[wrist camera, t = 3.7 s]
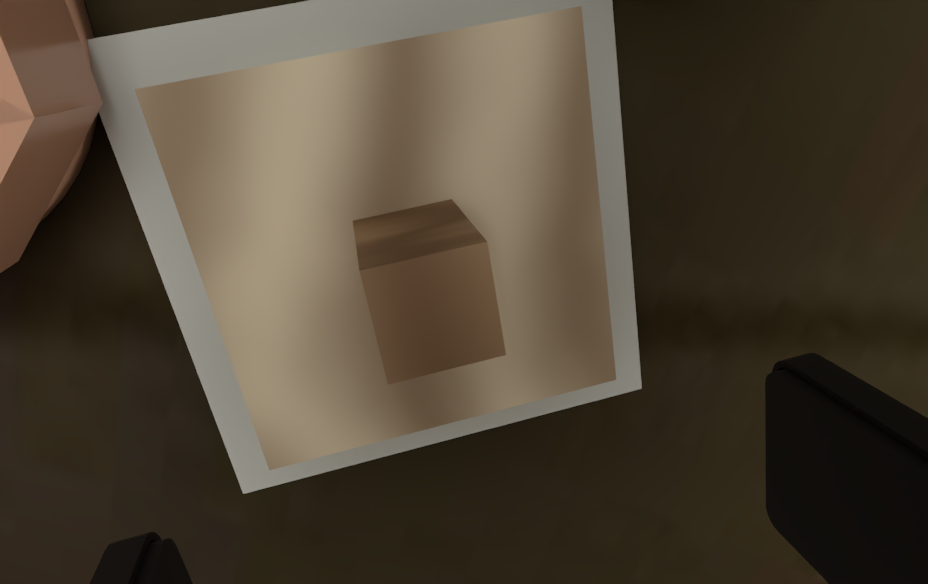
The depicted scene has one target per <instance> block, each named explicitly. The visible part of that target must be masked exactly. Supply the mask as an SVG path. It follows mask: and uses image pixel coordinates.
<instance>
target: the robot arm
mask: <svg viewBox="0 0 928 584" xmlns="http://www.w3.org/2000/svg"><path fill="white" fill-rule="evenodd" d="M765 393H766V509H767V513H768V516H769V518H770V520H771V522H772V524H773V526H774V527H775V528H776V529H777V531H778V532H779V533H780V534H781V535H782V536H783V537H784V538H785V539H786V540H787V541H788V542H789V543H790V544H791V545H792V546H793V547H794V548H795V549H796V550H797V551H798V552H799V553H800V554H801V555H802V556H803V557H804V558H805V559H806V560H807V561H808V562H809V564H810V565H811V566H812V567H813V568H814V569H815V570H816V571H817V572H818V573H819V574H820V575H821V576H822V577H823V578H824V579H825V580H826V581H827V582H828V583H829V584H928V418H926V417H925V416H923V415H921V414H920V413H918V412H916V411H914V410H913V409H911V408H909V407H907V406H906V405H904V404H902V403H901V402H899V401H897V400H895V399H894V398H892V397H890V396H889V395H887V394H885V393H883V392H882V391H880V390H878V389H877V388H875V387H873V386H871V385H870V384H868V383H866V382H865V381H863V380H861V379H859V378H858V377H856V376H854V375H853V374H851V373H849V372H847V371H846V370H844V369H842V368H840V367H839V366H837V365H835V364H834V363H832V362H830V361H828V360H827V359H825V358H823V357H822V356H820V355H817V354H815V353H808V354H804V355H800V356H797V357H793V358H789V359H786V360H782V361H779V362H777V363H776V364H775V365H774V367H773V371H772V373H770V374H768V376H767V378H766V383H765ZM90 584H193V583H192V581H191V579H190V576H189V574H188V572H187V569H186V567H185V565H184V563H183V560H182V558H181V556H180V553H179V551H178V549H177V546H176V544H175V543H174V541H173V540H172V539H170V538H167V539H164V540H161V538H160V536H159V535H157V534H156V533H154V532H150V533H146V534H143V535H139V536H135V537H132V538H128V539H124V540H121V541H117V542H113V543H111V544H110V545H108V547H107V548H106V550H105V552H104V554H103V556H102V558H101V561H100V563H99V565H98V567H97V569H96V571H95V574H94V576H93V578H92V580H91V582H90Z"/></svg>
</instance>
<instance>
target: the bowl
mask: <svg viewBox="0 0 928 584" xmlns="http://www.w3.org/2000/svg"><path fill="white" fill-rule="evenodd" d="M93 38H94V34H93V30H92V27H91V23H90V20H89V17H88V13H87V10H86V7H85V3H84V1H83V0H0V273H1V272H2V271H4V270H5V269H7V268H8V267H10V266H11V265H13V264H14V263H16V262H17V261H19V259H20V257H21V256H22V254H23V252H24V250H25V248H26V246H27V244H28V242H29V241H30V239H31V237H32V235H33V233H34V231H35V229H36V228H37V226H38V224H39V222H40V221H42V220H43V219H44V218H45V217H47V216H48V215H49V213H50V212H51V211H52V210H53V209H54V208H55V207H56V206H57V205H58V203H59V202H60V201H61V200H62V199H63V198H64V197H65V195H66V194H67V192H68V191H69V189H70V187H71V186H72V184H73V183H74V181H75V180H76V178H77V177H78V175H79V173H80V171H81V169H82V166H83V164H84V162H85V159H86V157H87V155H88V153H89V150H90V147H91V143H92V139H93V136H94V132H95V128H96V124H97V116H98V112H99V110H100V108H101V106H102V104H103V101H102V98H101V96H100V93H99V90H98V88H97V85H96V82H95V80H94V77H93V74H92V64H91V58H90V52H89V46H88V39H93Z"/></svg>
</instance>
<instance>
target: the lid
mask: <svg viewBox="0 0 928 584" xmlns="http://www.w3.org/2000/svg"><path fill="white" fill-rule="evenodd" d="M135 92H136V95H137V98H138V101H139V103H140V106H141V109H142V112H143V115H144V118H145V120H146V123H147V126H148V129H149V132H150V134H151V137H152V140H153V143H154V146H155V149H156V151H157V154H158V157H159V160H160V163H161V166H162V168H163V171H164V174H165V177H166V180H167V183H168V185H169V188H170V191H171V194H172V197H173V200H174V202H175V205H176V208H177V211H178V214H179V217H180V219H181V222H182V225H183V228H184V231H185V234H186V236H187V239H188V242H189V245H190V248H191V250H192V253H193V256H194V259H195V262H196V265H197V267H198V270H199V273H200V276H201V279H202V282H203V284H204V287H205V290H206V293H207V296H208V299H209V301H210V304H211V307H212V310H213V313H214V316H215V318H216V321H217V324H218V327H219V330H220V333H221V335H222V338H223V341H224V344H225V347H226V349H227V352H228V355H229V358H230V361H231V364H232V366H233V369H234V372H235V375H236V378H237V381H238V383H239V386H240V389H241V392H242V395H243V398H244V400H245V403H246V406H247V409H248V412H249V415H250V417H251V420H252V423H253V426H254V429H255V432H256V434H257V437H258V440H259V443H260V446H261V449H262V451H263V454H264V457H265V460H266V463H267V465H268V468H269V470H273V469H277V468H281V467H284V466H288V465H292V464H296V463H300V462H304V461H307V460H311V459H315V458H319V457H323V456H326V455H330V454H334V453H338V452H342V451H346V450H349V449H353V448H357V447H361V446H365V445H369V444H372V443H376V442H380V441H384V440H388V439H392V438H395V437H399V436H403V435H407V434H411V433H415V432H418V431H422V430H426V429H430V428H434V427H437V426H441V425H445V424H449V423H453V422H457V421H460V420H464V419H468V418H472V417H476V416H480V415H483V414H487V413H491V412H495V411H499V410H503V409H506V408H510V407H514V406H518V405H522V404H526V403H529V402H533V401H537V400H541V399H545V398H548V397H552V396H556V395H560V394H564V393H568V392H571V391H575V390H579V389H583V388H587V387H591V386H594V385H598V384H602V383H606V382H610V381H614V380H616V371H615V360H614V350H613V339H612V328H611V318H610V307H609V296H608V285H607V275H606V264H605V253H604V242H603V232H602V221H601V210H600V199H599V189H598V178H597V167H596V156H595V146H594V135H593V124H592V113H591V103H590V92H589V81H588V71H587V60H586V49H585V38H584V28H583V17H582V6H579V7H574V8H568V9H563V10H557V11H552V12H547V13H541V14H536V15H531V16H525V17H520V18H515V19H509V20H504V21H498V22H493V23H488V24H482V25H477V26H472V27H466V28H461V29H455V30H450V31H445V32H439V33H434V34H429V35H423V36H418V37H413V38H407V39H402V40H396V41H391V42H386V43H380V44H375V45H370V46H364V47H359V48H354V49H348V50H343V51H337V52H332V53H327V54H321V55H316V56H311V57H305V58H300V59H295V60H289V61H284V62H278V63H273V64H268V65H262V66H257V67H252V68H246V69H241V70H236V71H230V72H225V73H219V74H214V75H209V76H203V77H198V78H193V79H187V80H182V81H177V82H171V83H166V84H160V85H155V86H150V87H144V88H139V89H135Z"/></svg>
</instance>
